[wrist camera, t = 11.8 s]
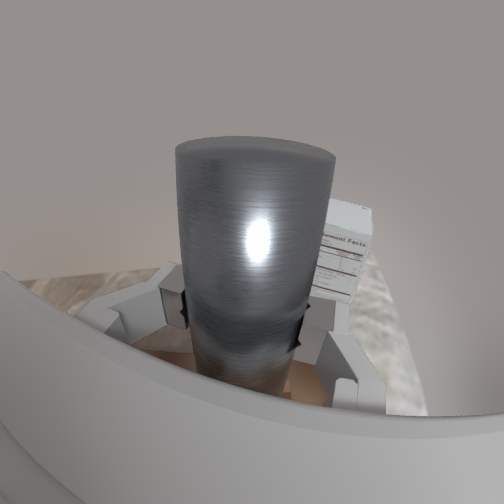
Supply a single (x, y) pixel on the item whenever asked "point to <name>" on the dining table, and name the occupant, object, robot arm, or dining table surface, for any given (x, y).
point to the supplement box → (342, 251)
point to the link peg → (249, 251)
